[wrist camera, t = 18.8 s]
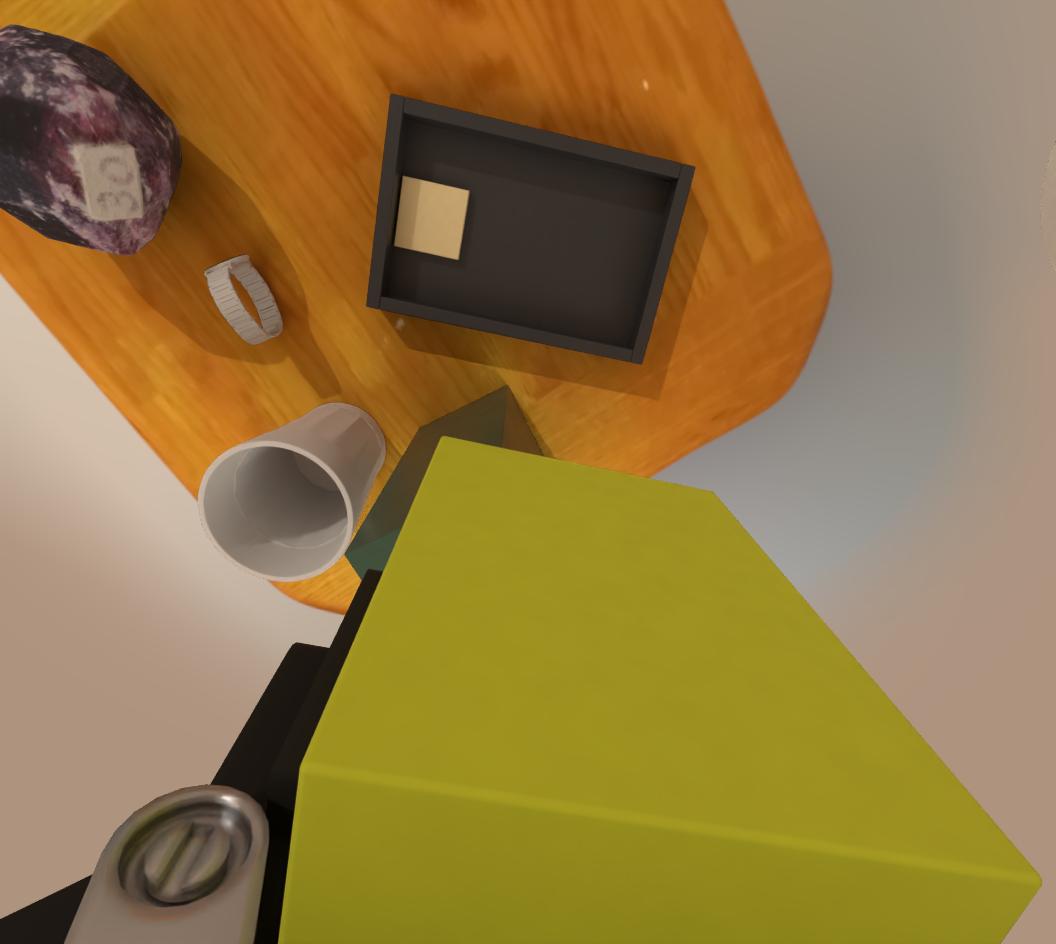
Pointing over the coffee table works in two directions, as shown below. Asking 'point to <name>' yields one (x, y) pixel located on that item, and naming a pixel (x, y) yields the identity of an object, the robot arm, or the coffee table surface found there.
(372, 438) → the cup
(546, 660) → the yellow-green rectangular block
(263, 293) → the wristwatch
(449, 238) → the beige flat square block
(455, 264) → the pan
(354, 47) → the coffee table surface
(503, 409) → the tall green box
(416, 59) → the coffee table surface
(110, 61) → the mineral specimen
